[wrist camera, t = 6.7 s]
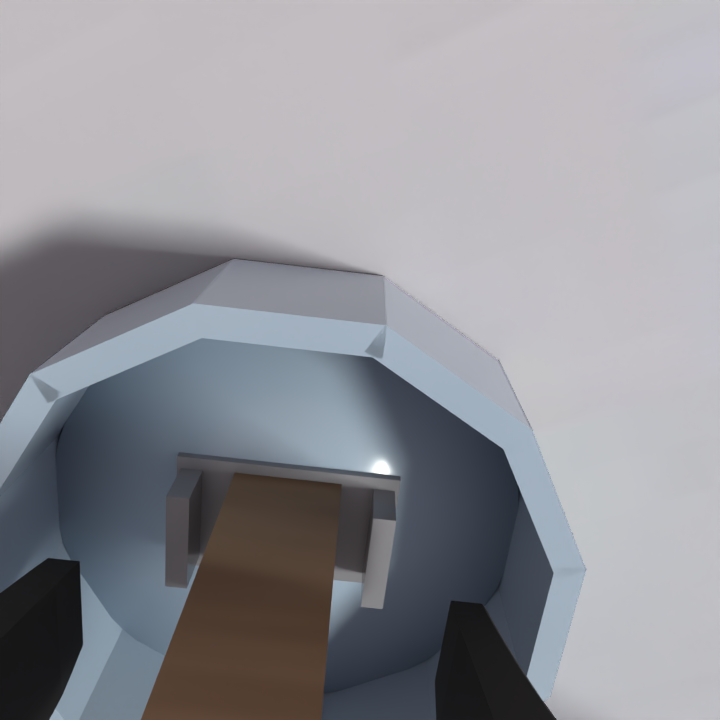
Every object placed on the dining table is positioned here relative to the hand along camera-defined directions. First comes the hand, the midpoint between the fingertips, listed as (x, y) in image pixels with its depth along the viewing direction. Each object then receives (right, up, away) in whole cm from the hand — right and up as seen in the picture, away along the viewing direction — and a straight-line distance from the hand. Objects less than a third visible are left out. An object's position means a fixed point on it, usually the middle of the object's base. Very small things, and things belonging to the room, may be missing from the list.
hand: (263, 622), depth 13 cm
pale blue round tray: (0, +1, +4) cm, 4 cm away
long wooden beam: (0, +1, +3) cm, 3 cm away
